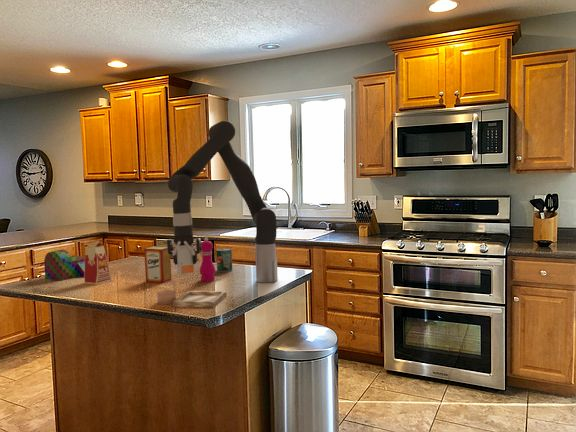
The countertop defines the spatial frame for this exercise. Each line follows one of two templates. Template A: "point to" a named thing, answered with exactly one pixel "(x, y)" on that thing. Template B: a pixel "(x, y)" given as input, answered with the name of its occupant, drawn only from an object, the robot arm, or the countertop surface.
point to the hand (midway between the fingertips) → (185, 264)
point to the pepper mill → (207, 262)
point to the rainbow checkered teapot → (63, 265)
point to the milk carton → (96, 264)
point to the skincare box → (184, 260)
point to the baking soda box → (157, 264)
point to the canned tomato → (224, 259)
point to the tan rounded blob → (166, 296)
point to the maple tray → (200, 299)
